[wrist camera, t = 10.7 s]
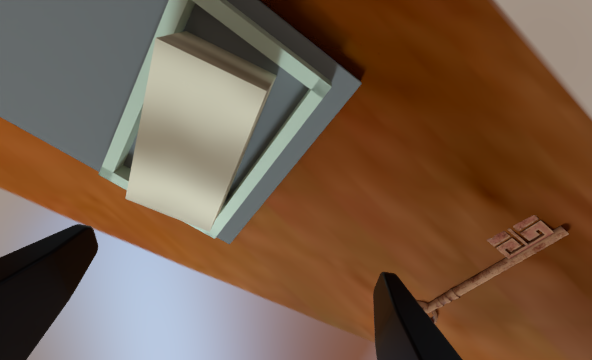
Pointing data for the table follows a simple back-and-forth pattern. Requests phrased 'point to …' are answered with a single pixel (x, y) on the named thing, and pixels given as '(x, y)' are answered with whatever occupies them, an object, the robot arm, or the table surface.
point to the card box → (194, 127)
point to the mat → (124, 72)
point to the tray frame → (261, 40)
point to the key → (509, 261)
